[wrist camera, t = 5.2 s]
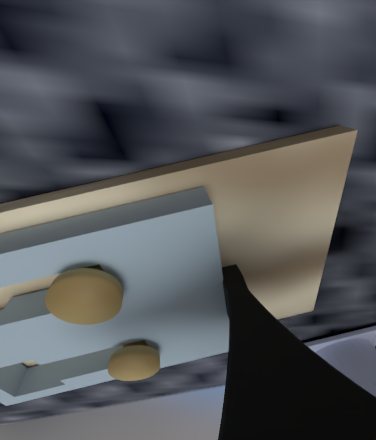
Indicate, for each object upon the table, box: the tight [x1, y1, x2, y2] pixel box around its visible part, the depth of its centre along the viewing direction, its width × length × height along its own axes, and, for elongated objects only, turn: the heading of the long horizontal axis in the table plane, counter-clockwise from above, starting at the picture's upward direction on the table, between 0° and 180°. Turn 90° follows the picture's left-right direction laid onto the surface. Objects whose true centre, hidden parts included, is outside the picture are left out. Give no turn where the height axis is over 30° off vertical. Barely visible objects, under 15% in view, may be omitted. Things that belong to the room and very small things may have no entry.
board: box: [0, 126, 358, 381], centre depth 11 cm, size 12×20×3 cm, turn 101°
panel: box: [0, 187, 229, 406], centre depth 11 cm, size 10×14×2 cm
